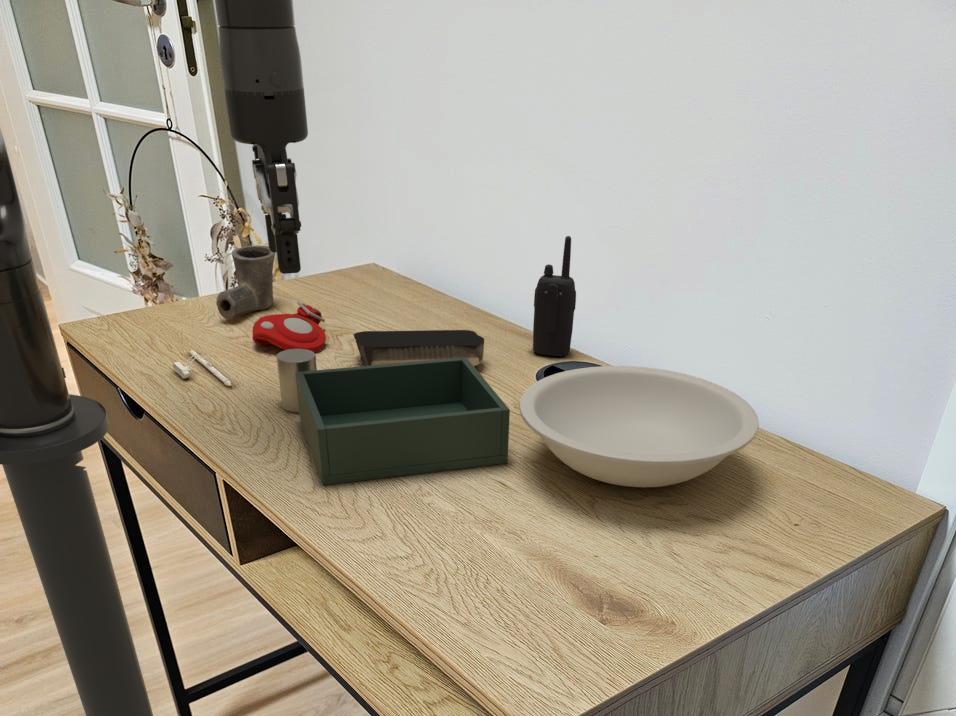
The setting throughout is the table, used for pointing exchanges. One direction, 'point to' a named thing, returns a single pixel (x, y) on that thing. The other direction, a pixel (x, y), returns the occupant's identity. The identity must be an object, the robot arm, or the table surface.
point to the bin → (401, 419)
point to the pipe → (249, 282)
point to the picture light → (185, 370)
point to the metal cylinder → (293, 374)
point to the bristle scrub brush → (418, 346)
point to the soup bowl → (637, 423)
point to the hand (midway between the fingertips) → (284, 261)
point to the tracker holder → (291, 329)
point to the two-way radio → (554, 309)
